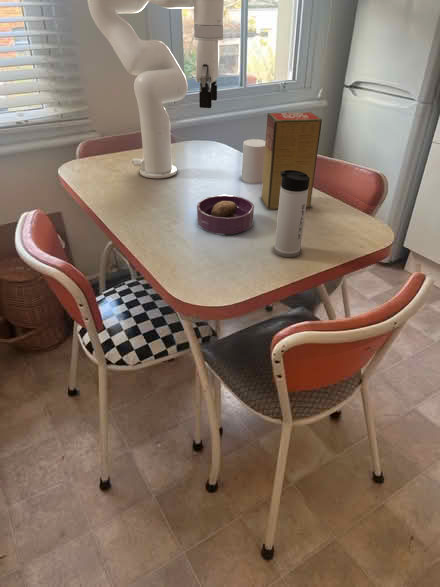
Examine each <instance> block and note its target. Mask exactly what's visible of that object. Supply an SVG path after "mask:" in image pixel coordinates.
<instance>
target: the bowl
mask: <svg viewBox="0 0 440 587" xmlns="http://www.w3.org/2000/svg"><path fill="white" fill-rule="evenodd" d="M221 201H231V202H234V203H235V204H236V211H235V213H234V215H236V216H237V217H229V218H224V217H215V216H211V211H212V209H213V207H214V205H215V204H217V203H219V202H221ZM254 216H255V205H254V203H253V202H252V201H250V200H249V199H247V198H244V197H242V196H238V195H229V194H228V195H227V194H218V195H213V196H212V195H211V196H207V197H204V198H203V199H201V200H200V201H198V203H197V205H196V222H197V225H198V226H199V227H200V228H201V229H202V230H205V231H207V232H209V233H214V234H221V235H232V234H238V233H242V232H246V231H247V230H249V229H250V228H251V227H252V226H253V225H254Z"/></svg>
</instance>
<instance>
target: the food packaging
mask: <svg viewBox="0 0 440 587" xmlns="http://www.w3.org/2000/svg"><path fill="white" fill-rule="evenodd" d="M322 123H323V119H322V118H321V117H320V116H318V115H316V114H314V113H313V112H312V111H307V112H304V111H303V112H268V113H267V116H266V127H265V128H266V129H265V141H266V142H265V155H264V169H263V182H262V183H261V186H262V187H261V198H260V199H261V201H262V203H263V204H264V206H265V207H266V209H267V210H278V208H279V198H280V189H281V180H282V177H281V175H280V173H281V171H285V170H295V171H300V172H303V173H305V174H307V176H308V177H309V178H310V180H309V189H308V196H307V204H306V209H307V208H311V206H312V196H313V188H314V182H315V174H316V166H317V158H318V151H319V144H320V137H321V132H322Z"/></svg>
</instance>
